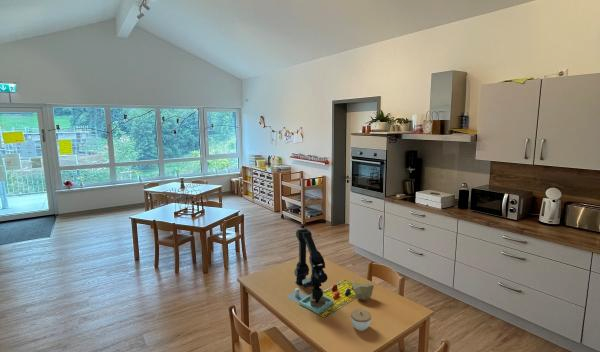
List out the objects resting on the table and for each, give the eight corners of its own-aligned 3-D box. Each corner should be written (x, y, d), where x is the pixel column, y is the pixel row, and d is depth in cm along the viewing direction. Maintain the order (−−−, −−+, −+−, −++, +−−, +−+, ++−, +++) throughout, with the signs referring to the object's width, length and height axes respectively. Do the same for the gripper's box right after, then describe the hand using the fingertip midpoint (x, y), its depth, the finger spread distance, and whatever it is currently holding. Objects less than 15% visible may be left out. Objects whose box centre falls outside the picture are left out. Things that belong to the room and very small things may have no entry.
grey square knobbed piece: (296, 291, 217) (296, 283, 216) (308, 297, 210) (308, 288, 209) (286, 297, 210) (285, 289, 209) (297, 303, 203) (297, 295, 202)
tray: (314, 295, 213) (314, 291, 212) (333, 303, 203) (333, 300, 202) (298, 304, 202) (298, 301, 201) (317, 314, 192) (318, 310, 191)
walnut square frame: (309, 300, 205) (309, 294, 205) (324, 299, 206) (324, 294, 205) (310, 306, 198) (310, 300, 198) (325, 306, 199) (325, 300, 198)
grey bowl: (375, 303, 203) (376, 286, 212) (370, 292, 198) (371, 276, 207) (352, 304, 210) (354, 288, 218) (346, 294, 204) (348, 278, 213)
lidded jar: (348, 321, 185) (348, 306, 183) (367, 320, 186) (368, 305, 184) (353, 334, 174) (353, 318, 173) (373, 333, 175) (373, 317, 174)
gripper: (302, 268, 207) (302, 291, 210) (303, 283, 189) (303, 308, 192) (319, 267, 208) (319, 290, 211) (323, 282, 190) (323, 307, 192)
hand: (316, 298), depth 202 cm, fingers open, 9 cm apart
